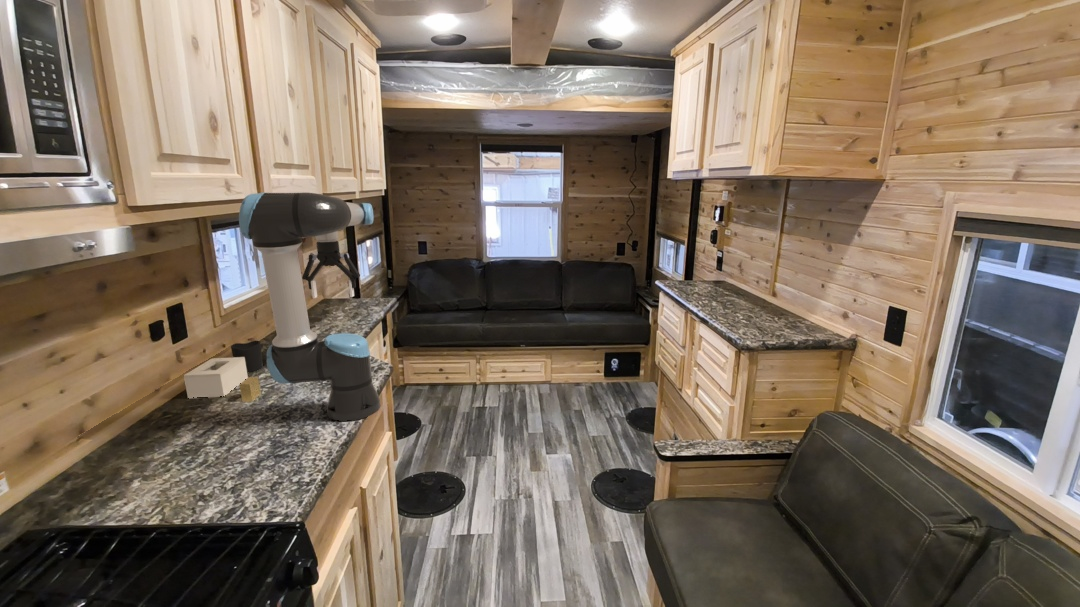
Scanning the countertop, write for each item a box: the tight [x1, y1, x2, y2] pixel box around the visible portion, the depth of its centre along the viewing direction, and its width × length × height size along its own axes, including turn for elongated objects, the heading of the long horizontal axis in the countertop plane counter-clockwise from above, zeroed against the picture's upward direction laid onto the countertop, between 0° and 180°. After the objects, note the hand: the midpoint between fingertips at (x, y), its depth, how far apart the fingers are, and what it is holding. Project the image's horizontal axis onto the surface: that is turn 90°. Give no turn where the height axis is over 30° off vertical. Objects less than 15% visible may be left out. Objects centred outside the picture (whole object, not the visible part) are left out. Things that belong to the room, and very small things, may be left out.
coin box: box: [183, 356, 249, 399], centre depth 161 cm, size 16×11×8 cm
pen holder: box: [230, 340, 264, 374], centre depth 177 cm, size 9×9×10 cm
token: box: [238, 376, 262, 403], centre depth 153 cm, size 6×3×6 cm, turn 6°
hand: (333, 297), depth 179 cm, fingers open, 13 cm apart
